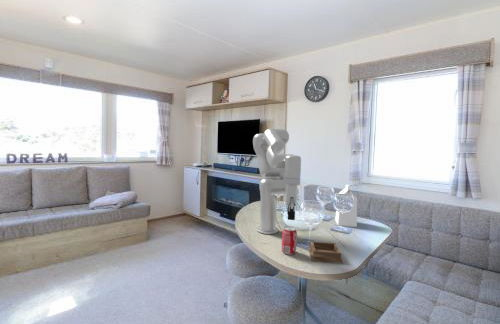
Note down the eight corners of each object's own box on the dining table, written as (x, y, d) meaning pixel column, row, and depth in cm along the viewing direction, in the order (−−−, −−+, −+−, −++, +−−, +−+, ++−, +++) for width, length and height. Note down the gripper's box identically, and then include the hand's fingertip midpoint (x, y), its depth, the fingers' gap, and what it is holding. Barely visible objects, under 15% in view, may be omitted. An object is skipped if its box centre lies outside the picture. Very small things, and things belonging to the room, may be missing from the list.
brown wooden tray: (308, 248, 132) (308, 240, 132) (336, 250, 131) (337, 242, 130) (311, 260, 118) (311, 252, 118) (343, 263, 117) (343, 254, 116)
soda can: (294, 249, 130) (295, 226, 129) (297, 255, 123) (298, 231, 122) (280, 249, 130) (281, 225, 129) (282, 255, 123) (283, 230, 122)
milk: (356, 226, 168) (359, 187, 165) (338, 225, 170) (340, 186, 167) (352, 221, 180) (354, 184, 177) (335, 219, 181) (337, 183, 179)
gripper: (284, 178, 132) (282, 211, 134) (284, 183, 115) (283, 221, 116) (299, 179, 131) (297, 212, 133) (301, 184, 114) (300, 222, 115)
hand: (290, 216), depth 124 cm, fingers open, 9 cm apart
